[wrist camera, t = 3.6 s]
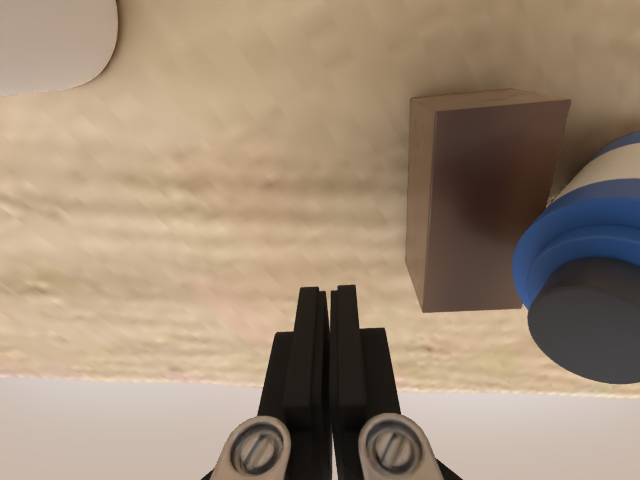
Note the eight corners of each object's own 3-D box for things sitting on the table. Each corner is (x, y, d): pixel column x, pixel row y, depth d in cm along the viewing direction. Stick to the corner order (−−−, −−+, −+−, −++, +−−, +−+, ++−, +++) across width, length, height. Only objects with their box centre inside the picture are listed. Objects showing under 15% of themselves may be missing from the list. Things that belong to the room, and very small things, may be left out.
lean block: (511, 88, 17) (572, 98, 12) (484, 258, 22) (522, 309, 17) (410, 98, 17) (435, 111, 13) (405, 262, 22) (422, 313, 18)
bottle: (689, 116, 17) (1386, 236, 6) (647, 220, 20) (1058, 442, 8) (442, 136, 18) (601, 265, 7) (435, 231, 21) (540, 436, 10)
